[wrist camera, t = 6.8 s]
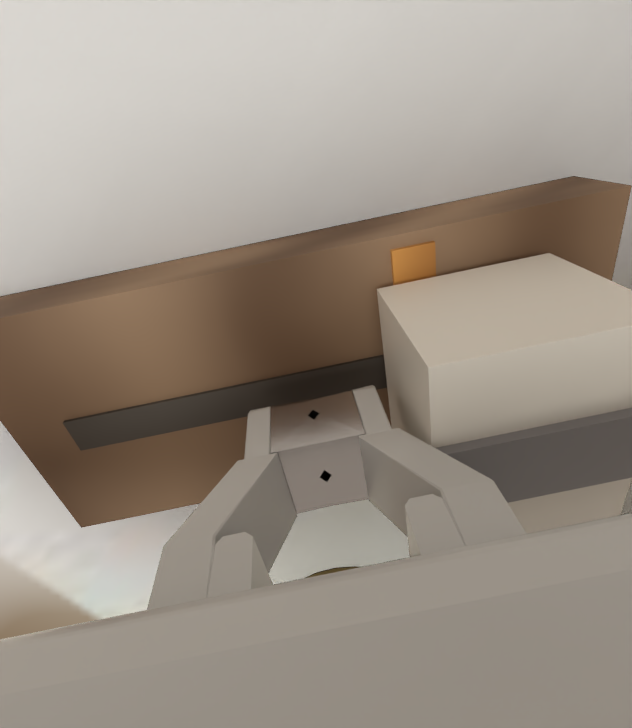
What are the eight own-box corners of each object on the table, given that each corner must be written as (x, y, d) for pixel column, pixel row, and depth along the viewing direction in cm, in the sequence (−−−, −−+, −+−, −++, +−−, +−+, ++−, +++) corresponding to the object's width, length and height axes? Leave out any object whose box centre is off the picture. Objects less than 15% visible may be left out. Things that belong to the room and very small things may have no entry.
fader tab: (549, 252, 9) (697, 320, 6) (528, 421, 12) (624, 530, 9) (376, 288, 9) (432, 374, 6) (393, 448, 12) (439, 568, 9)
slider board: (573, 176, 11) (635, 186, 9) (543, 389, 14) (583, 427, 12) (-14, 299, 11) (-72, 334, 9) (103, 479, 14) (79, 530, 13)
